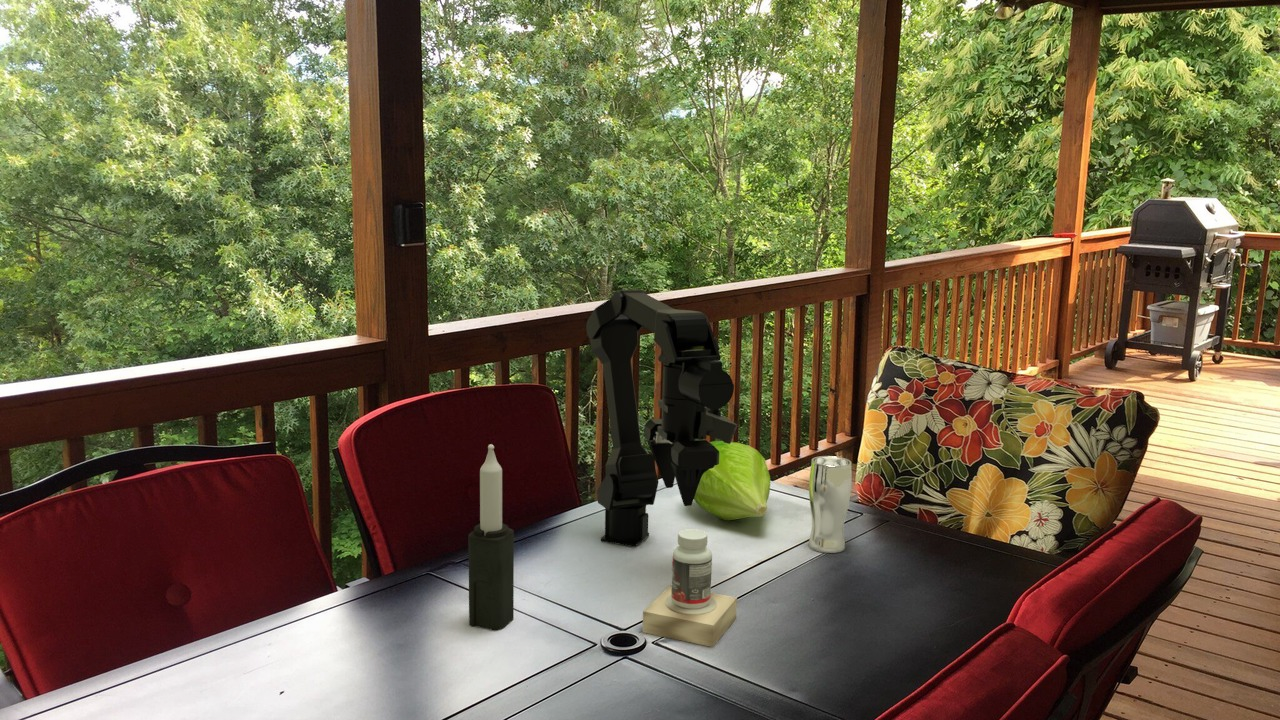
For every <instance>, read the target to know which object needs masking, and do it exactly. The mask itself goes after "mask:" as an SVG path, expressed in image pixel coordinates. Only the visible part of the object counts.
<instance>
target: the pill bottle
mask: <svg viewBox="0 0 1280 720" xmlns="http://www.w3.org/2000/svg"><path fill="white" fill-rule="evenodd" d="M677 544H678V545H677V546H676V547H675V548H674V549H673V551H672V558H671V559H672V560H671V563H672V565H671V566H672V567H671V585H672V591H671V595H672V596H671V598H672V602H673V603H674V604H676V605H677V606H680V607H683V608H688V609H697V608H702V607H705V606H707V605H708V604H709V603H710V596H711V593H712V591H711V589H712V572H713V571H712V570H713V569H712V568H713V567H712V565H713V554H712V550H711V549H710V548H709V547H707V546H708V533H707V532H705V531H704V530H701V529H696V528H688V529H682V530H680V531H679V532H678V534H677Z"/></svg>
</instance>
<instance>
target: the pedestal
mask: <svg viewBox="0 0 1280 720" xmlns="http://www.w3.org/2000/svg"><path fill="white" fill-rule="evenodd" d="M671 591H672V584H670V585H669V586H668V587H667V588H666V589H665V590H664V591H663V592H661V594H659V595H658V596H657V597H656V598H655V599H654V600H653V601H652V602H651V603H650V604H649V605H648V606H647V607H646V608H645V609H644V610H643V611H642V633H644V634H650V635H652V636H653V635H655V636H659V637H664V638H669V639H673V640H678V641H682V642H687V643H692V644H697V645H701V646H707V647H709V648H710V647H712V648H713V647H714V646H715V644H717V642H718V641H719V640H720V639H721V638H722V636H723V635H724V634H725V632H727V630H728V629H729V628H730V626H731V625H732V624H733V622H734V621H735V620H736V619H737V607H738V606H737V605H738V597H736V596H730V595H724V594H720V593H714V592H711V596H710V603H709V604H708V605H707V606H705V607H702V608H697V609H688V608H683V607H680V606H677V605H676V604H674V603H673V602H672V598H671V596H672V595H671Z"/></svg>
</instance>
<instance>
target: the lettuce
mask: <svg viewBox="0 0 1280 720" xmlns="http://www.w3.org/2000/svg"><path fill="white" fill-rule="evenodd" d="M708 442H709V443H711V444H712V445H713V446H714V447H715V448H716V449H717V450H718V451H719V464H718V465H715V466H714V467H713V468H712V469H708V470H707V471H706V472H705V473H704V474H703V475H702V477H701V480H700V482H699V485H698V488H697V491H696V494H695V497H694V500H693V501H694V502H695V503H696V504H697V505H698V506H699V507H700V508H702V509H704V510H705V511H706V512H708V513H710V514H711V515H713V516H715V517H717V518H719V519H720V520H723V521H731V520H733V521H734V520H740V519H745V518H750V517H751V518H752V517H753V518H756V517H757V518H759V517H763V516H764V515H765V514H766V513H767V509H768V504H767V502H768V500H769V496H770V490H771V476H770V472H769V469H768V465H767V462H766V458H765V457H764V456H763V455H762V454H761V453H760V451H759V450H757V449H756V448H754V447H752V446H750V445H747V444H744V443H740V442H735V441H734V442H732V441H731V443H730V444H727V443H724V442H723V441H722V440H713V441H708Z"/></svg>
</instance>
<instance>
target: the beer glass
mask: <svg viewBox="0 0 1280 720" xmlns="http://www.w3.org/2000/svg"><path fill="white" fill-rule="evenodd" d="M809 472H810V473H809V479H808V480H809V481H808V495H809V496H808V497H809V505H810V507H809V508H810V514H811V531H810V536H809V539H808V547H809V548H810V549H811V550H813V551H816V552H819V553H825V554H837V553H838V554H839V553H841V552H843V551H845V549H846V543H845V535H844V534H845V533H844V528H845V520H846V518H847V517H846V516H847V513H848V509H849V504H850V500H851V494H852V480H853V479H852V478H853V477H852V461H851V460H850V459H848V458H844V457H841V456H833V455H821V456H820V455H819V456H816V457H813V458H811V466H810V471H809Z"/></svg>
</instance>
